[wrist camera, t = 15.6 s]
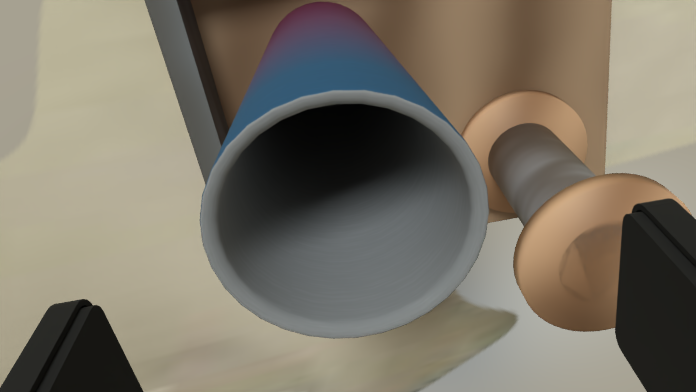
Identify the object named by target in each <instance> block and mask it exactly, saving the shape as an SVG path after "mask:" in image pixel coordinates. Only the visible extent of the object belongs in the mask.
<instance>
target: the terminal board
mask: <svg viewBox="0 0 696 392" xmlns="http://www.w3.org/2000/svg"><path fill="white" fill-rule="evenodd" d="M313 2H332V3H337V4H341V5H343V6H345V7H348V8H350V9H351V10H353V11H354V12H356V13H357V14H358V15H359V16H360V17H361V18H362V19H363V20H364V21H365V22H366V23H367V24H368V25H369V27H370V28H371V29H372V30H373V31H374V32H375V34H376V35H377V36H378V37H379V38H380V40H381V41H382V42H383V43H384V44H385V46H386V47H387V48H388V49H389V50H390V52H391V53H392V54H393V55H394V56H395V57H396V59H397V60H398V61H399V62H400V63H401V65H402V66H403V67H404V68H405V69H406V71H407V72H408V73H409V74H410V75H411V76H412V78H413V79H414V80H415V81H416V82H417V84H418V85H419V86H420V87H421V88H422V90H423V91H424V92H425V93H426V94H427V96H428V97H429V98H430V99H431V100H432V101H433V103H434V104H435V105H436V106H437V107H438V109H439V110H440V111H441V112H442V113H443V115H444V116H445V117H446V118H447V119H448V120H449V122H450V123H451V124H452V125H453V126H454V128H455V129H456V130H457V131H458V132H459V134H460V135H461V136H462V137H463V138H464V140H465V141H466V142H467V144H468V145H469V147H470V149H471V150H472V152H473V154H474V155H475V157H476V159H477V160H478V162H479V164H480V167H481V170H482V173H483V176H484V179H485V182H486V185H487V192H488V204H489V216H488V223H490V222H496V221H501V220H507V219H512V218H517V217H518V218H519V219H520V221H521V222H522V224H523V225H524V228H523V230H522V232H521V234H520V236H519V239H518V241H517V244H516V247H515V252H514V261H513V268H514V275H515V278H516V281H517V284H518V286H519V288H520V290H521V292H522V294H523V296H524V297H525V299H526V301H527V303H528V305H529V306H530V307H531V308H532V310H533V311H534V312H535V313H536V314H537V315H538V316H539V317H540V318H542V319H543V320H545V321H546V322H548V323H550V324H552V325H554V326H557V327H560V328H563V329H567V330H572V331H583V332H585V331H600V330H606V329H611V328H615V324H616V309H617V295H618V280H619V265H620V250H621V236H622V222H623V217H624V215H626V214H629V213H632V209H633V207H634V205H636V204H638V203H644V202H650V201H655V200H661V199H667V198H670V199H673V200H675V201H677V202H678V203H679V204H680V205H681V206H682V207H683V208H684V209H685V210H686V211H687V212H688V213H689V214H691V213H690V211H689V209H688V208H687V207H686V206H685V204H684V203H683V202H682V201H680V200H679V199H678V198H677V197H676V196H675V195H674V194H672V193H671V192H670V191H669V190H668V189H666V188H665V187H664V186H663V185H661V184H659V183H658V182H656V181H654V180H651V179H649V178H647V177H643V176H640V175H635V174H627V173H612V174H605V154H606V129H607V104H608V80H609V55H610V30H611V5H612V0H145V3H146V6H147V9H148V12H149V15H150V18H151V21H152V24H153V27H154V30H155V33H156V36H157V39H158V42H159V45H160V48H161V51H162V54H163V57H164V60H165V63H166V66H167V69H168V72H169V75H170V78H171V81H172V84H173V87H174V90H175V93H176V97H177V100H178V103H179V106H180V109H181V112H182V115H183V118H184V121H185V124H186V127H187V130H188V133H189V136H190V139H191V142H192V145H193V148H194V151H195V154H196V157H197V160H198V163H199V166H200V169H201V172H202V175H203V178H204V181H205V184H206V183H207V180H208V177H209V175H210V172H211V169H212V167H213V165H214V162H215V160H216V158H217V156H218V154H219V151H220V149H221V147H222V145H223V143H224V140H225V138H226V136H227V134H228V131H229V129H230V127H231V125H232V123H233V120H234V118H235V116H236V114H237V112H238V109H239V107H240V105H241V103H242V101H243V98H244V96H245V94H246V92H247V90H248V87H249V85H250V83H251V81H252V79H253V76H254V74H255V72H256V70H257V67H258V65H259V63H260V61H261V59H262V56H263V54H264V52H265V50H266V48H267V45H268V43H269V41H270V39H271V37H272V34H273V32H274V31H275V29H276V27H277V26H278V24H279V23H280V22H281V20H282V19H283V18H284V17H285V16H286V15H287V14H289V13H290V12H292V11H293V10H294V9H296V8H298V7H300V6H303V5H305V4H309V3H313Z"/></svg>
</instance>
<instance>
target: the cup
mask: <svg viewBox="0 0 696 392" xmlns="http://www.w3.org/2000/svg"><path fill="white" fill-rule="evenodd" d="M488 216H489V204H488V192H487V185H486V182H485V179H484V176H483V173H482V170H481V167H480V164H479V162H478V160H477V159H476V157H475V155H474V154H473V152H472V150H471V149H470V147H469V145H468V144H467V142H466V141H465V140H464V138H463V137H462V136H461V135H460V134H459V132H458V131H457V130H456V129H455V128H454V126H453V125H452V124H451V123H450V122H449V120H448V119H447V118H446V117H445V116H444V115H443V113H442V112H441V111H440V110H439V109H438V107H437V106H436V105H435V104H434V103H433V101H432V100H431V99H430V98H429V97H428V96H427V94H426V93H425V92H424V91H423V90H422V88H421V87H420V86H419V85H418V84H417V82H416V81H415V80H414V79H413V78H412V76H411V75H410V74H409V73H408V72H407V71H406V69H405V68H404V67H403V66H402V65H401V63H400V62H399V61H398V60H397V59H396V57H395V56H394V55H393V54H392V53H391V52H390V50H389V49H388V48H387V47H386V46H385V44H384V43H383V42H382V41H381V40H380V38H379V37H378V36H377V35H376V34H375V32H374V31H373V30H372V29H371V28H370V27H369V25H368V24H367V23H366V22H365V21H364V20H363V19H362V18H361V17H360V16H359V15H358V14H357V13H356V12H354V11H353V10H351V9H350V8H348V7H345V6H343V5H341V4H337V3H332V2H313V3H309V4H305V5H303V6H300V7H298V8H296V9H294V10H293V11H292V12H290V13H289V14H287V15H286V16H285V17H284V18H283V19H282V20H281V22H280V23H279V24H278V26H277V27H276V29H275V31H274V32H273V34H272V37H271V39H270V41H269V43H268V45H267V48H266V50H265V52H264V54H263V56H262V59H261V61H260V63H259V65H258V67H257V70H256V72H255V74H254V76H253V79H252V81H251V83H250V85H249V87H248V90H247V92H246V94H245V96H244V98H243V101H242V103H241V105H240V107H239V109H238V112H237V114H236V116H235V118H234V120H233V123H232V125H231V127H230V129H229V131H228V134H227V136H226V138H225V140H224V143H223V145H222V147H221V149H220V151H219V154H218V156H217V158H216V160H215V162H214V165H213V167H212V169H211V172H210V175H209V177H208V180H207V183H206V186H205V189H204V192H203V195H202V204H201V213H200V226H201V233H202V241H203V246H204V249H205V251H206V254H207V257H208V259H209V262H210V265H211V267H212V269H213V271H214V272H215V274H216V275H217V277H218V278H219V280H220V281H221V283H222V285H223V286H224V288H225V289H226V290H227V291H228V292H229V293H230V294H231V295H232V296H233V297H234V298H235V299H236V300H237V301H238V302H239V303H240V304H241V305H242V306H244V307H245V308H246V309H248V310H249V311H251V312H252V313H254V314H255V315H257V316H258V317H259V318H261V319H263V320H265V321H267V322H269V323H271V324H274V325H276V326H278V327H280V328H282V329H285V330H288V331H292V332H296V333H300V334H303V335H307V336H314V337H323V338H333V339H335V338H357V337H363V336H368V335H373V334H379V333H383V332H386V331H389V330H392V329H395V328H397V327H400V326H403V325H406V324H408V323H410V322H412V321H413V320H415V319H417V318H419V317H421V316H423V315H424V314H426V313H428V312H429V311H431V310H432V309H433V308H435V307H436V306H437V305H438V304H440V303H441V302H442V301H444V300H445V299H446V298H447V297H449V295H450V294H451V293H452V292H453V291H454V290H455V289H456V288H457V287H458V286H459V284H460V283H461V282H462V281H463V280H464V279H465V277H466V276H467V274H468V273H469V271H470V269H471V268H472V266H473V264H474V263H475V261H476V260H477V258H478V255H479V252H480V250H481V247H482V244H483V241H484V239H485V235H486V230H487V223H488Z"/></svg>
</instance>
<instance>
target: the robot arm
mask: <svg viewBox="0 0 696 392" xmlns="http://www.w3.org/2000/svg"><path fill="white" fill-rule="evenodd" d="M615 333H616V339H617V342H618V345H619V347H620V349H621V351H622V353H623V354H624V356H625V357H626V359H627V361H628V362H629V364H630V365H631V367H632V369H633V370H634V372H635V373H636V375H637V377H638V378H639V380H640V381H641V383H642V384H643V386H644V388H645V389H646V391H647V392H696V219H694V217H693V216H692V215H691V214H689V213H688V212H687V211H686V210H685V209H684V208H683V207H682V206H681V205H680V204H679V203H678V202H677V201H675V200H673V199H670V198H667V199H661V200H655V201H650V202H644V203H638V204H636V205H634V207H633V209H632V213H629V214H626V215H624V217H623V222H622V236H621V250H620V265H619V280H618V295H617V309H616V324H615ZM0 392H143V390H142V388H141V386H140V384H139V382H138V380H137V378H136V376H135V374H134V372H133V370H132V368H131V366H130V364H129V362H128V360H127V358H126V356H125V354H124V352H123V350H122V348H121V346H120V344H119V342H118V340H117V338H116V336H115V334H114V332H113V330H112V328H111V326H110V324H109V322H108V320H107V318H106V316H105V314H104V311H103V310H102V308H101V307H100V306H97V305H94V306H93V305H92V304H91V302H89V301H88V300H85V299H81V300H76V301H70V302H64V303H58V304H54V305H52V306H50V307H49V309H48V310H47V311H46V313H45V315H44V316H43V318H42V320H41V321H40V323H39V325H38V326H37V328H36V330H35V331H34V333H33V335H32V336H31V338H30V340H29V341H28V343H27V344H26V346H25V348H24V349H23V351H22V353H21V354H20V356H19V358H18V359H17V361H16V363H15V364H14V366H13V368H12V369H11V371H10V373H9V374H8V376H7V378H6V379H5V381H4V383H3V384H2V386H1V388H0Z"/></svg>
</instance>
